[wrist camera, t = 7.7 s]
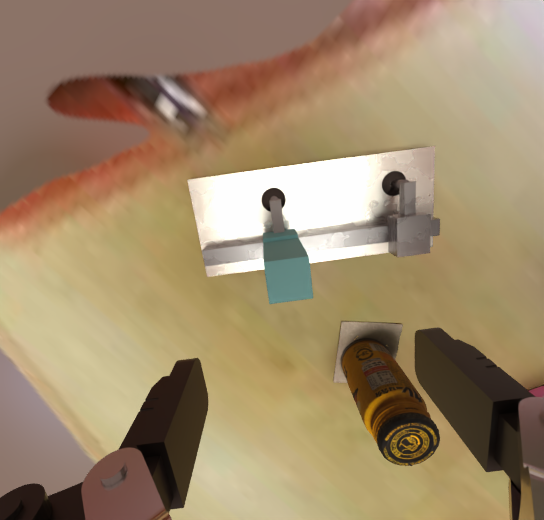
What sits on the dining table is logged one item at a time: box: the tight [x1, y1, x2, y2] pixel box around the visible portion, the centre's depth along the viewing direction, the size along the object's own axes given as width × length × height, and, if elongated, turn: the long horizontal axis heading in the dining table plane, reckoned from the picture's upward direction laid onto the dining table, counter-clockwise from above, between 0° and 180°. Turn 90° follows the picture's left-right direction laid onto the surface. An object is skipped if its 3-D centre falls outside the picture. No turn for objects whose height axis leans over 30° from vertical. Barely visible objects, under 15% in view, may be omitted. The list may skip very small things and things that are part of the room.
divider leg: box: [263, 196, 313, 304], centre depth 24 cm, size 3×7×11 cm, turn 7°
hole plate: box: [188, 146, 440, 277], centre depth 28 cm, size 24×10×6 cm, turn 97°
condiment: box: [334, 322, 440, 466], centre depth 30 cm, size 7×8×12 cm
